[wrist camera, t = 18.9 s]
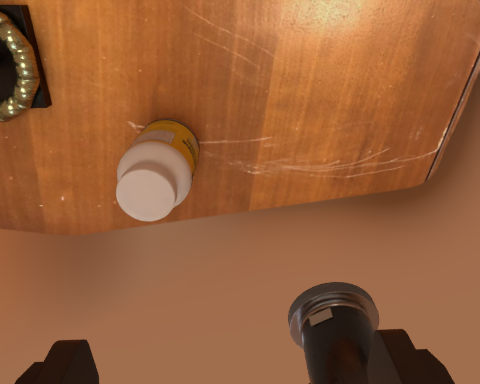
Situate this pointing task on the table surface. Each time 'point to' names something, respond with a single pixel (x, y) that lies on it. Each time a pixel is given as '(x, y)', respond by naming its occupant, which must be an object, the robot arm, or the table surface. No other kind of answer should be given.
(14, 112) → the ring
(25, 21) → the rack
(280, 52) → the table surface
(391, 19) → the table surface
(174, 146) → the pill bottle
